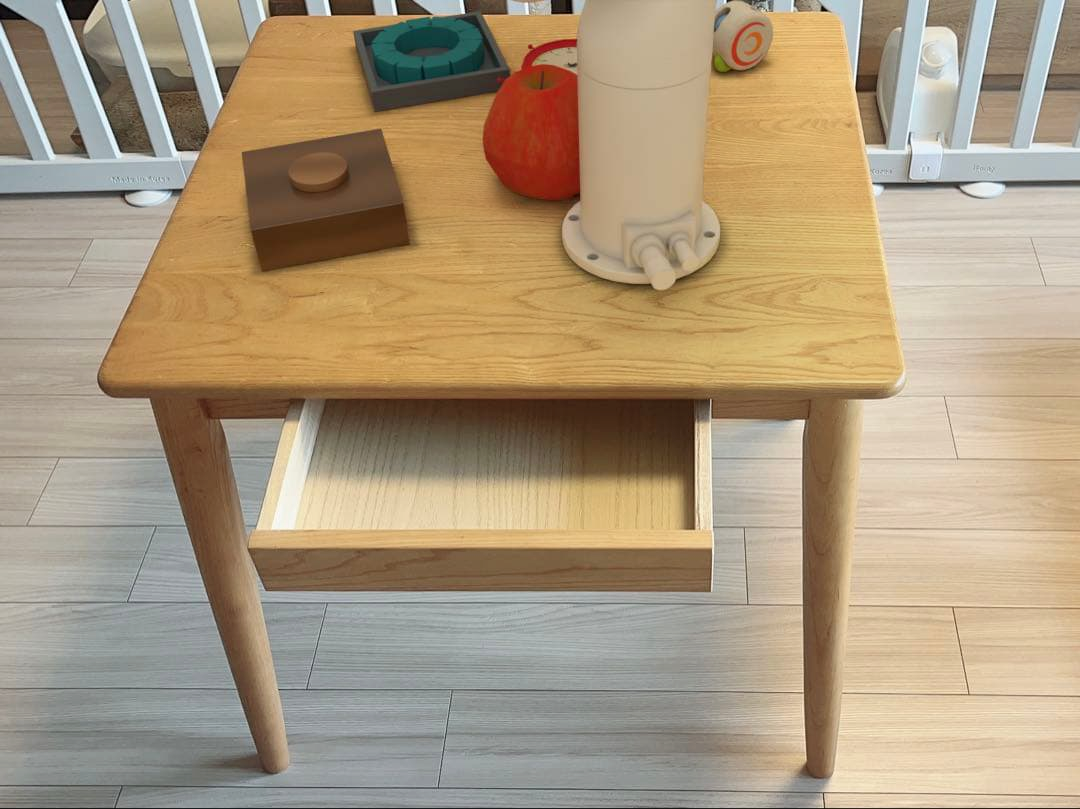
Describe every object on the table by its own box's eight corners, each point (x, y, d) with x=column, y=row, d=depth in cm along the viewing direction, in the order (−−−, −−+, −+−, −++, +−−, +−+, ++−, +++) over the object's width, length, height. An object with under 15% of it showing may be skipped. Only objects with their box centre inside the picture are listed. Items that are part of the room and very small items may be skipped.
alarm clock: (530, 31, 110) (675, 18, 103) (546, 91, 114) (686, 82, 107) (485, 81, 103) (637, 70, 96) (504, 142, 107) (651, 136, 100)
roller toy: (696, 61, 112) (699, 5, 108) (749, 45, 114) (754, -11, 110) (721, 79, 109) (726, 22, 105) (775, 62, 111) (781, 6, 107)
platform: (409, 244, 92) (402, 194, 88) (261, 271, 90) (248, 221, 86) (387, 168, 100) (379, 119, 97) (251, 191, 98) (239, 143, 95)
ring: (493, 77, 110) (491, 56, 108) (384, 96, 108) (380, 74, 107) (471, 30, 117) (469, 10, 116) (368, 46, 116) (365, 26, 114)
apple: (479, 214, 94) (466, 99, 87) (500, 150, 101) (489, 39, 94) (601, 218, 93) (598, 101, 85) (613, 153, 100) (611, 40, 93)
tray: (511, 89, 109) (509, 69, 108) (374, 111, 107) (371, 91, 106) (482, 29, 119) (480, 10, 117) (356, 49, 117) (352, 30, 115)
